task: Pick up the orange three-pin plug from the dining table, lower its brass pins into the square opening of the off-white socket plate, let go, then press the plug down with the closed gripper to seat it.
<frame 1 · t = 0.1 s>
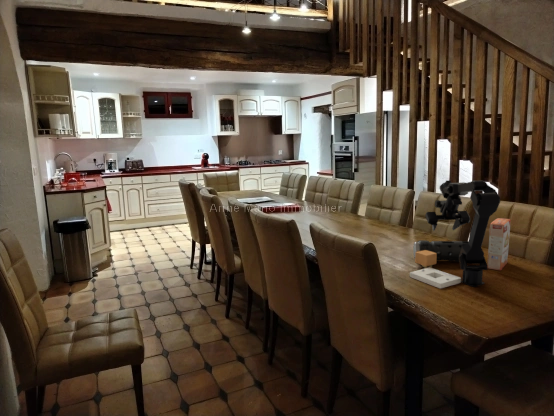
hand: (443, 229, 185), 15 cm above the table, tool tilted 35°, fingers open, 9 cm apart
cracker box: (497, 266, 176), on the table
muzzle brake: (445, 262, 185), on the table
socket plate: (434, 279, 162), on the table
plug: (425, 267, 178), on the table
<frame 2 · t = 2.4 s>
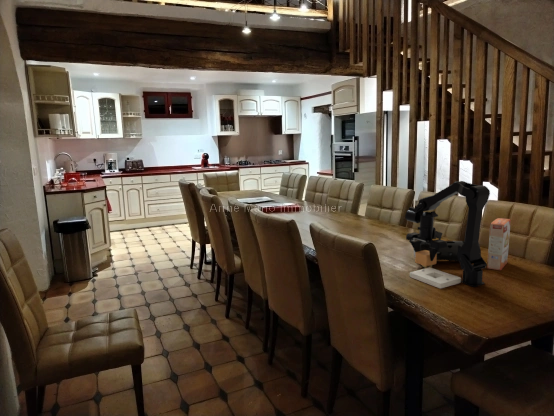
hand: (424, 258, 177), 4 cm above the table, tool pointing down, fingers open, 8 cm apart
muzzle brake: (445, 261, 185), on the table, touching gripper
everything else where it was.
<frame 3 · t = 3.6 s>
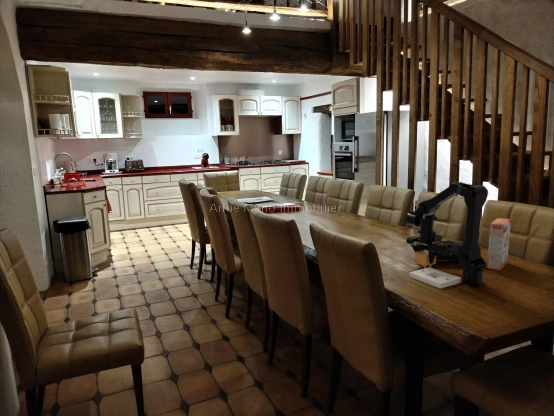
hand: (425, 261, 177), 3 cm above the table, tool pointing down, fingers closed on plug, 6 cm apart
muzzle brake: (445, 262, 185), on the table
plug: (425, 267, 178), on the table, touching gripper
everything else where it was.
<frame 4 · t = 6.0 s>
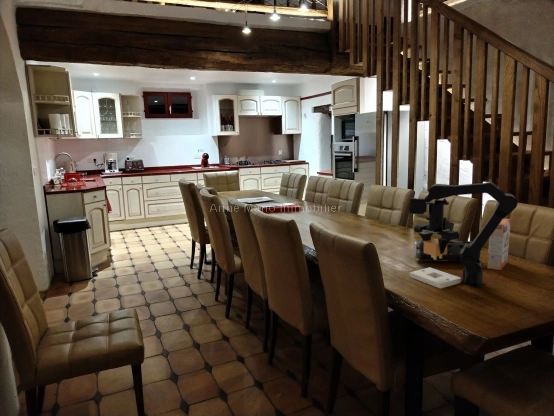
hand: (435, 251, 161), 12 cm above the table, tool pointing down, fingers closed on plug, 6 cm apart
plug: (435, 257, 161), point 9 cm above the table, touching gripper
everything else where it was.
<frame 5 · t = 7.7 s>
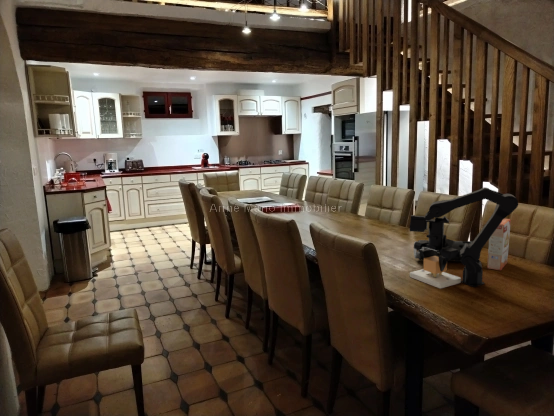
hand: (435, 268, 161), 5 cm above the table, tool pointing down, fingers closed on plug, 6 cm apart
plug: (435, 274, 162), point 2 cm above the table, touching gripper
everything else where it was.
when the fingers open (4 cm above the table, at t = 8.9 s): plug drops 1 cm, resting on socket plate.
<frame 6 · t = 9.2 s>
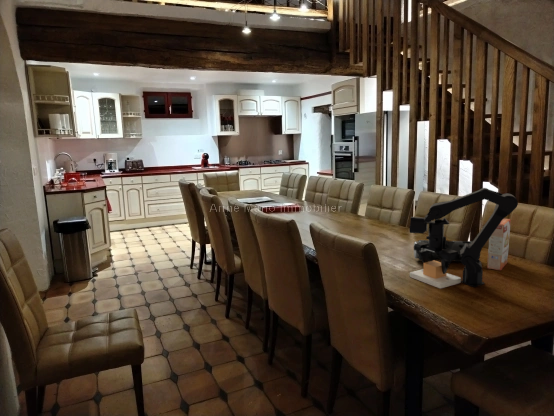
hand: (435, 270, 162), 4 cm above the table, tool pointing down, fingers open, 9 cm apart
plug: (434, 279, 162), resting on socket plate
everything else where it was.
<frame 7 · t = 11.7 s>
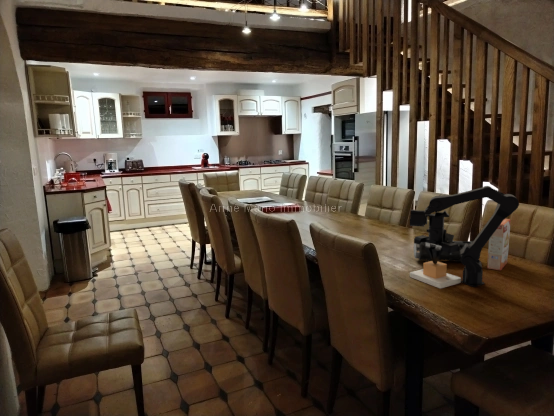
hand: (435, 263, 161), 7 cm above the table, tool pointing down, fingers closed
nothing on the table moved.
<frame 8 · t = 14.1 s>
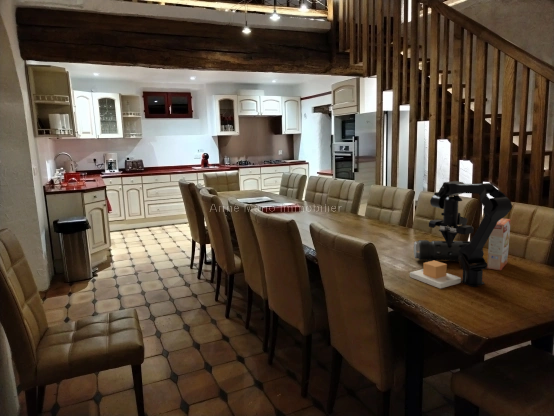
hand: (449, 245, 168), 12 cm above the table, tool pointing down, fingers closed
nothing on the table moved.
at the end: plug 0.1 cm off-centre on the socket plate, point 0.0 cm above the socket plate's base; plug tilted 0°; the gripper is holding nothing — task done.
